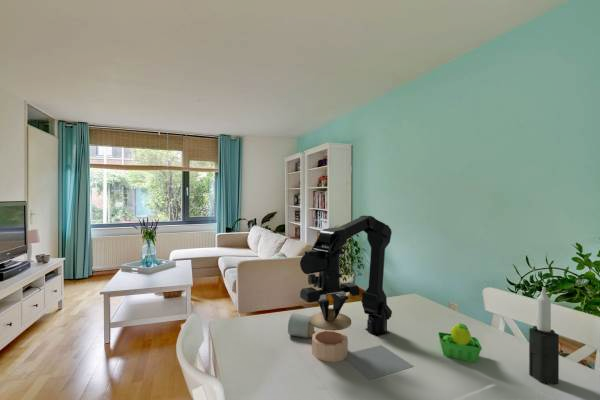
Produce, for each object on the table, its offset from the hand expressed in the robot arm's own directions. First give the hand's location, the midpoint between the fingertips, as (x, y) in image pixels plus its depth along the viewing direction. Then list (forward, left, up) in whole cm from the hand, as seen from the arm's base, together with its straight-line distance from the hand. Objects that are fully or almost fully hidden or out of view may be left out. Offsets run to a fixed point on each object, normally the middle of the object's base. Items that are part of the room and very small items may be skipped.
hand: (330, 319), depth 94 cm
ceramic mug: (+2, -16, -11) cm, 20 cm away
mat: (-10, +10, -11) cm, 18 cm away
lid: (0, 0, -1) cm, 1 cm away
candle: (-46, +36, -11) cm, 59 cm away
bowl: (0, 0, -11) cm, 11 cm away
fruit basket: (-36, +18, -11) cm, 42 cm away
